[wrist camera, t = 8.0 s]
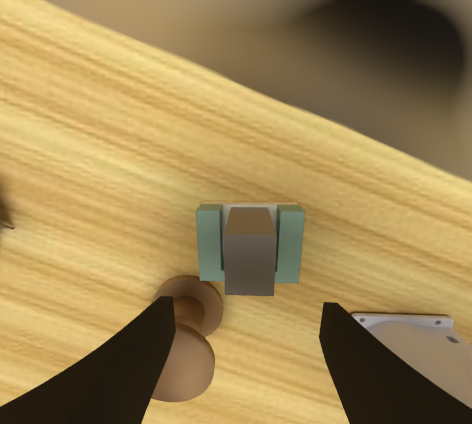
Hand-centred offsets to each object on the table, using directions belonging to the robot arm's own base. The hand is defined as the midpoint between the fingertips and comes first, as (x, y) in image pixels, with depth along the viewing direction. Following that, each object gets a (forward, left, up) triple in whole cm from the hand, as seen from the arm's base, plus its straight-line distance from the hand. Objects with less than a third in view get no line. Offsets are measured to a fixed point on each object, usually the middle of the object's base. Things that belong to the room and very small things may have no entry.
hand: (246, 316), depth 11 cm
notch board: (0, 0, -10) cm, 10 cm away
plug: (0, -1, -9) cm, 9 cm away
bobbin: (+6, +8, -10) cm, 14 cm away
